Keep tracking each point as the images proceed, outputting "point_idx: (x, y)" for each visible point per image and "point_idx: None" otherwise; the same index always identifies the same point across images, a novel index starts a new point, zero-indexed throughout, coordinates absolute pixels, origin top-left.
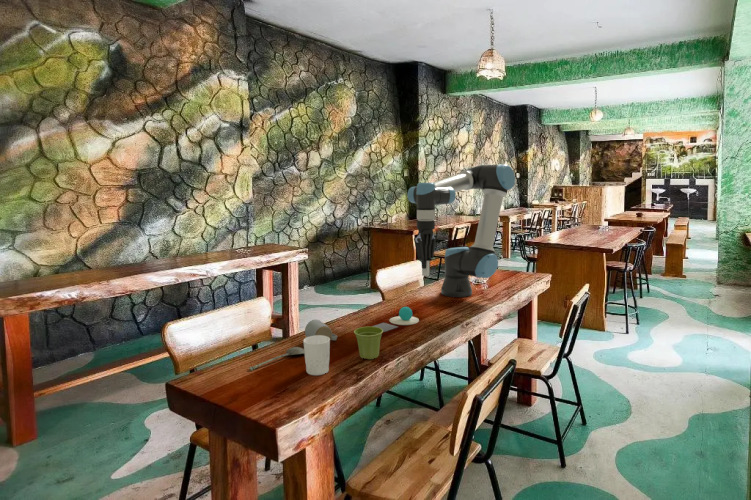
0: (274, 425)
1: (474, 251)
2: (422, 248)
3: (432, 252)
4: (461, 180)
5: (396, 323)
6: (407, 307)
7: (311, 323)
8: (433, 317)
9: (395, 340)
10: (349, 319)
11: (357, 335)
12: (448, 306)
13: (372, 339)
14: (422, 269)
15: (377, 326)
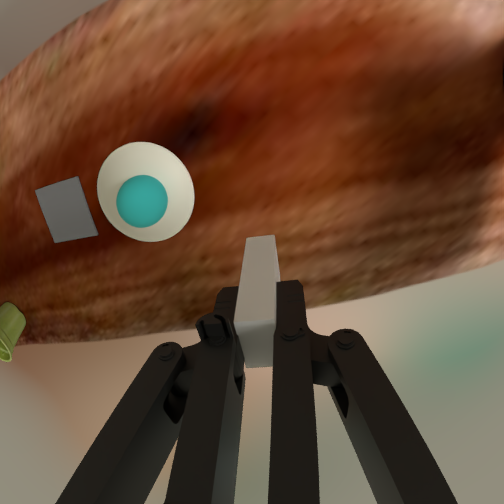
0: None
1: None
2: (150, 484)
3: (347, 423)
4: None
5: (104, 208)
6: (136, 218)
7: None
8: (252, 229)
9: (63, 296)
10: (21, 87)
11: None
12: (407, 169)
13: (1, 351)
14: (242, 268)
15: (52, 198)
